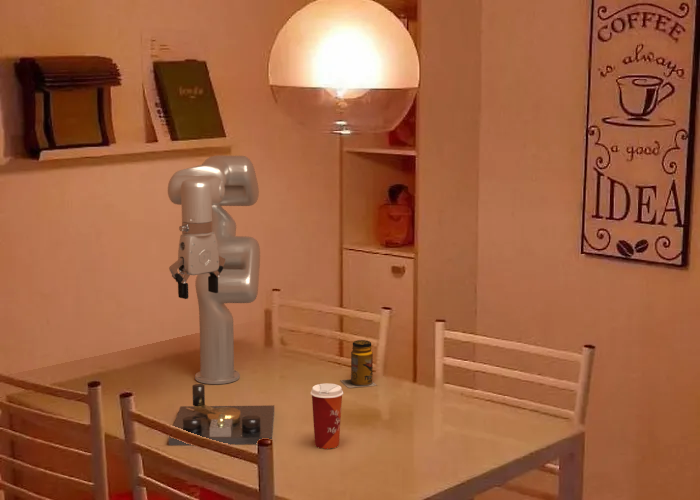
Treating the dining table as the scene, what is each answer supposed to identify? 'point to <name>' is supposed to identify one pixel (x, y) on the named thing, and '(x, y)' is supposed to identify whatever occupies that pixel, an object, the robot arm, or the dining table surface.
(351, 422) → the dining table surface
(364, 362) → the condiment
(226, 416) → the crank dial
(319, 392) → the paper cup
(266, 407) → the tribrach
